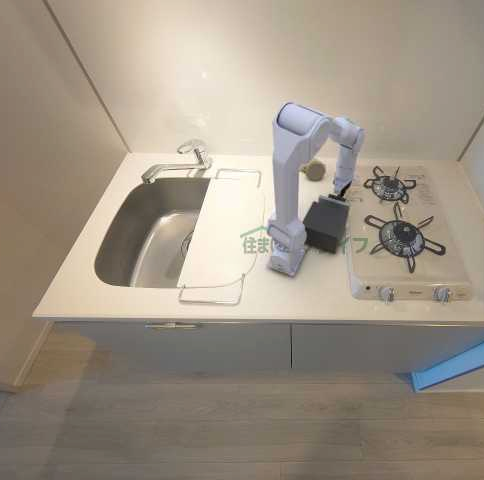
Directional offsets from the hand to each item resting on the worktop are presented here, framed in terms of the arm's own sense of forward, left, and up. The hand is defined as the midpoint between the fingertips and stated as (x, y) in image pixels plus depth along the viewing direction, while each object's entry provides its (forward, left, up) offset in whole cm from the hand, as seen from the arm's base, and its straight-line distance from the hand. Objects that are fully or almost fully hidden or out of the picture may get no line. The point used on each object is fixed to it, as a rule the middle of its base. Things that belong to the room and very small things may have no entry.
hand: (340, 195), depth 90 cm
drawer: (-9, +1, -3) cm, 9 cm away
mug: (+12, +15, -4) cm, 19 cm away
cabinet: (-15, +1, -4) cm, 16 cm away
